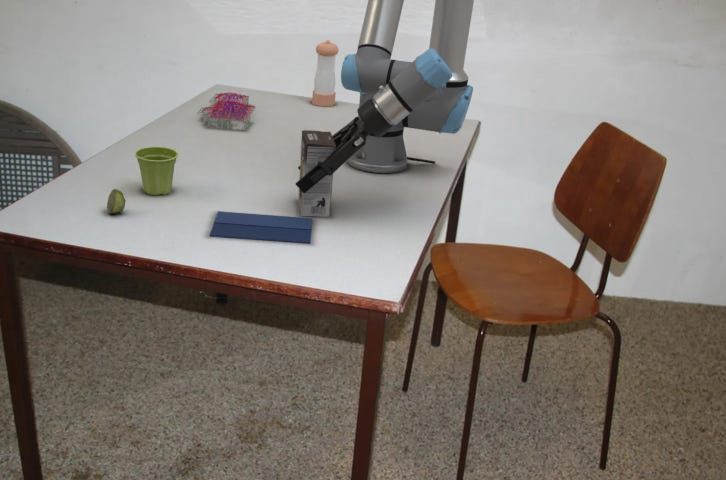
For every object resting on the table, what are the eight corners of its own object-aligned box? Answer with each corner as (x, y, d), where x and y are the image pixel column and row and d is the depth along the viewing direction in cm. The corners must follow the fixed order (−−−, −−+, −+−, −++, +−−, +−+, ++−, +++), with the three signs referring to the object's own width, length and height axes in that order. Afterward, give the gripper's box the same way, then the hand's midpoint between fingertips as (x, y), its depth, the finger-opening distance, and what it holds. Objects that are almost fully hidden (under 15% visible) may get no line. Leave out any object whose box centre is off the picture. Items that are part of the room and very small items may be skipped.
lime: (116, 218, 163) (115, 195, 161) (99, 212, 165) (97, 189, 163) (131, 212, 166) (130, 189, 164) (114, 206, 168) (113, 184, 166)
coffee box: (297, 200, 178) (301, 129, 170) (325, 201, 178) (331, 130, 170) (300, 216, 170) (305, 142, 162) (330, 217, 170) (336, 143, 162)
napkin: (312, 220, 168) (312, 218, 168) (310, 243, 158) (310, 241, 158) (218, 213, 169) (218, 211, 168) (209, 236, 158) (209, 233, 158)
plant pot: (186, 187, 181) (185, 150, 176) (166, 201, 173) (165, 162, 168) (149, 180, 183) (148, 144, 179) (128, 194, 175) (126, 155, 171)
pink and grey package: (213, 100, 247) (213, 83, 244) (261, 105, 246) (262, 88, 243) (191, 127, 221) (190, 109, 218) (244, 132, 220) (245, 114, 217)
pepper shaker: (310, 105, 249) (314, 41, 240) (313, 99, 256) (317, 37, 246) (333, 107, 249) (338, 43, 239) (336, 101, 255) (341, 39, 245)
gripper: (369, 84, 171) (292, 151, 179) (372, 112, 152) (285, 185, 160) (391, 111, 174) (314, 175, 182) (396, 141, 155) (310, 211, 163)
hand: (301, 180), depth 171 cm, fingers closed on coffee box, 9 cm apart
